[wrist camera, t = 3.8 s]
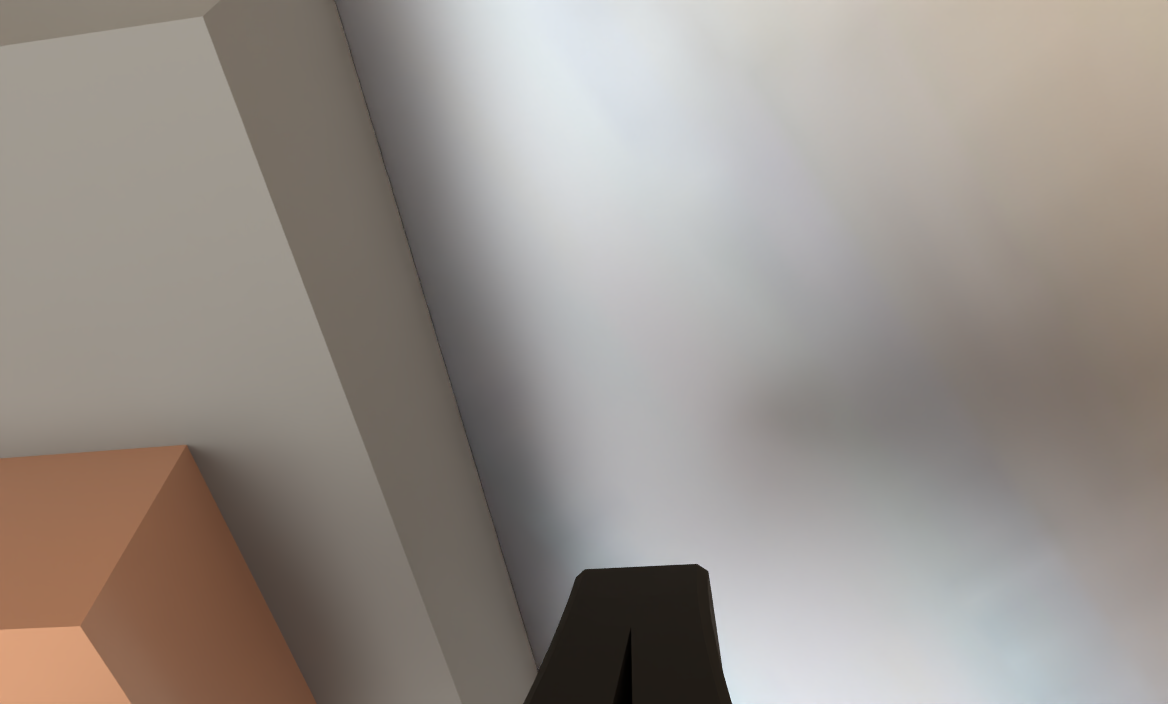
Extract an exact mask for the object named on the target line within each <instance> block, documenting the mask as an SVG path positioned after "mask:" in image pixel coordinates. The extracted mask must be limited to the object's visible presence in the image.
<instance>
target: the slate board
mask: <svg viewBox="0 0 1168 704" xmlns="http://www.w3.org/2000/svg"><path fill="white" fill-rule="evenodd" d="M175 445H187V446H188V448H189V450H190V452H191V454H192V456H193V458H194V460H195V462H196V464H197V466H198V468H199V470H200V472H201V474H202V476H203V478H204V480H205V482H206V484H207V486H208V488H209V490H210V492H211V494H212V496H213V498H214V500H215V502H216V504H217V506H218V508H219V510H220V512H221V514H222V516H223V518H224V520H225V522H226V524H227V526H228V528H229V530H230V532H231V534H232V536H233V538H234V540H235V542H236V544H237V546H238V548H239V550H240V552H241V554H242V556H243V558H244V560H245V562H246V564H247V566H248V568H249V570H250V572H251V574H252V576H253V578H254V580H255V582H256V584H257V586H258V588H259V590H260V592H261V594H262V596H263V598H264V600H265V602H266V604H267V606H268V608H269V610H270V612H271V613H272V615H273V617H274V619H275V621H276V623H277V625H278V627H279V629H280V631H281V633H282V635H283V637H284V639H285V641H286V643H287V645H288V647H289V649H290V651H291V653H292V655H293V657H294V659H295V661H296V663H297V665H298V667H299V669H300V671H301V673H302V675H303V677H304V679H305V681H306V683H307V685H308V687H309V689H310V691H311V693H312V695H313V697H314V699H315V701H316V703H317V704H523V703H524V701H525V699H526V697H527V695H528V693H529V691H530V689H531V687H532V685H533V682H534V680H535V678H536V676H537V674H538V671H537V667H536V664H535V661H534V657H533V654H532V651H531V647H530V644H529V641H528V638H527V634H526V631H525V628H524V624H523V621H522V618H521V614H520V611H519V608H518V605H517V601H516V598H515V595H514V591H513V588H512V585H511V581H510V578H509V575H508V571H507V568H506V565H505V562H504V558H503V555H502V552H501V548H500V545H499V542H498V538H497V535H496V532H495V529H494V525H493V522H492V519H491V515H490V512H489V509H488V505H487V502H486V499H485V496H484V492H483V489H482V486H481V482H480V479H479V476H478V472H477V469H476V466H475V463H474V459H473V456H472V453H471V449H470V446H469V443H468V439H467V436H466V433H465V429H464V426H463V423H462V420H461V416H460V413H459V410H458V406H457V403H456V400H455V396H454V393H453V390H452V387H451V383H450V380H449V377H448V373H447V370H446V367H445V363H444V360H443V357H442V354H441V350H440V347H439V344H438V340H437V337H436V334H435V330H434V327H433V324H432V320H431V317H430V314H429V311H428V307H427V304H426V301H425V297H424V294H423V291H422V287H421V284H420V281H419V278H418V274H417V271H416V268H415V264H414V261H413V258H412V254H411V251H410V248H409V245H408V241H407V238H406V235H405V231H404V228H403V225H402V221H401V218H400V215H399V211H398V208H397V205H396V202H395V198H394V195H393V192H392V188H391V185H390V182H389V178H388V175H387V172H386V169H385V165H384V162H383V159H382V155H381V152H380V149H379V145H378V142H377V139H376V136H375V132H374V129H373V126H372V122H371V119H370V116H369V112H368V109H367V106H366V102H365V99H364V96H363V93H362V89H361V86H360V83H359V79H358V76H357V73H356V69H355V66H354V63H353V60H352V56H351V53H350V50H349V46H348V43H347V40H346V36H345V33H344V30H343V27H342V23H341V20H340V17H339V13H338V10H337V7H336V3H335V0H0V458H12V457H26V456H39V455H53V454H67V453H80V452H94V451H107V450H121V449H134V448H148V447H161V446H175Z"/></svg>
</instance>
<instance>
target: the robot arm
mask: <svg viewBox="0 0 1168 704" xmlns="http://www.w3.org/2000/svg"><path fill="white" fill-rule="evenodd" d="M523 704H732V702H731V699H730V695H729V692H728V688H727V685H726V681H725V678H724V674H723V669H722V662H721V656H720V649H719V642H718V635H717V628H716V621H715V614H714V607H713V600H712V593H711V587H710V580H709V573H708V571H707V570H705V569H704V568H702V567H701V566H699V565H698V564H687V565H666V566H645V567H624V568H604V569H585V570H583V571H582V572H581V573H580V574H579V575H578V576H577V577H576V579H575V582H574V585H573V588H572V591H571V594H570V596H569V599H568V602H567V605H566V607H565V610H564V612H563V615H562V617H561V620H560V623H559V625H558V628H557V630H556V632H555V635H554V637H553V640H552V642H551V644H550V647H549V649H548V651H547V653H546V656H545V658H544V660H543V662H542V665H541V667H540V669H539V671H538V674H537V676H536V678H535V680H534V682H533V685H532V687H531V689H530V691H529V693H528V695H527V697H526V699H525V701H524V703H523Z"/></svg>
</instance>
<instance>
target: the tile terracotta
mask: <svg viewBox="0 0 1168 704" xmlns="http://www.w3.org/2000/svg"><path fill="white" fill-rule="evenodd" d="M0 704H317V703H316V701H315V699H314V697H313V695H312V693H311V691H310V689H309V687H308V685H307V683H306V681H305V679H304V677H303V675H302V673H301V671H300V669H299V667H298V665H297V663H296V661H295V659H294V657H293V655H292V653H291V651H290V649H289V647H288V645H287V643H286V641H285V639H284V637H283V635H282V633H281V631H280V629H279V627H278V625H277V623H276V621H275V619H274V617H273V615H272V613H271V612H270V610H269V608H268V606H267V604H266V602H265V600H264V598H263V596H262V594H261V592H260V590H259V588H258V586H257V584H256V582H255V580H254V578H253V576H252V574H251V572H250V570H249V568H248V566H247V564H246V562H245V560H244V558H243V556H242V554H241V552H240V550H239V548H238V546H237V544H236V542H235V540H234V538H233V536H232V534H231V532H230V530H229V528H228V526H227V524H226V522H225V520H224V518H223V516H222V514H221V512H220V510H219V508H218V506H217V504H216V502H215V500H214V498H213V496H212V494H211V492H210V490H209V488H208V486H207V484H206V482H205V480H204V478H203V476H202V474H201V472H200V470H199V468H198V466H197V464H196V462H195V460H194V458H193V456H192V454H191V452H190V450H189V448H188V446H187V445H175V446H161V447H148V448H134V449H121V450H107V451H94V452H80V453H67V454H53V455H39V456H26V457H12V458H0Z"/></svg>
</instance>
